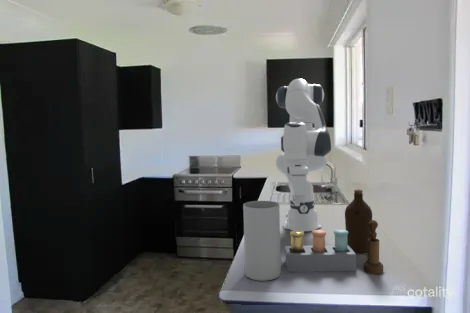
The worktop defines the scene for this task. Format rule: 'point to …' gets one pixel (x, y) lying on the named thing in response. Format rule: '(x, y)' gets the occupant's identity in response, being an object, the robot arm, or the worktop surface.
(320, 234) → the plug
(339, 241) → the plug
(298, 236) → the plug
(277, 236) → the cylinder vase
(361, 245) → the olive oil
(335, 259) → the grey plug holder block
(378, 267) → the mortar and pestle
